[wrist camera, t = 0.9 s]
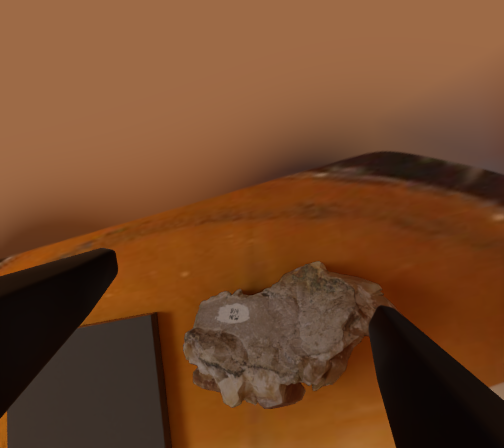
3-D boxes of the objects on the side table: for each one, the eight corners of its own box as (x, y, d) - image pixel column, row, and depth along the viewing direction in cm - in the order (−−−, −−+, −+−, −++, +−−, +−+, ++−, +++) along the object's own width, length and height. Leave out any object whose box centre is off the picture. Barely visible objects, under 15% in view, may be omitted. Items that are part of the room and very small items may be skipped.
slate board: (181, 527, 19) (175, 545, 18) (24, 554, 20) (8, 573, 18) (156, 311, 22) (150, 314, 21) (19, 337, 22) (5, 341, 21)
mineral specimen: (289, 270, 28) (187, 363, 22) (278, 225, 24) (150, 325, 18) (402, 341, 19) (280, 534, 13) (415, 288, 15) (247, 535, 9)
